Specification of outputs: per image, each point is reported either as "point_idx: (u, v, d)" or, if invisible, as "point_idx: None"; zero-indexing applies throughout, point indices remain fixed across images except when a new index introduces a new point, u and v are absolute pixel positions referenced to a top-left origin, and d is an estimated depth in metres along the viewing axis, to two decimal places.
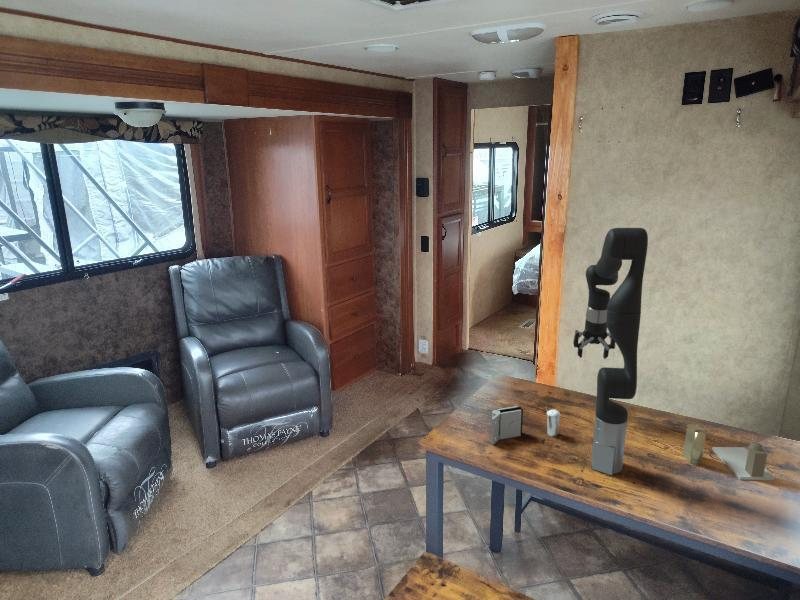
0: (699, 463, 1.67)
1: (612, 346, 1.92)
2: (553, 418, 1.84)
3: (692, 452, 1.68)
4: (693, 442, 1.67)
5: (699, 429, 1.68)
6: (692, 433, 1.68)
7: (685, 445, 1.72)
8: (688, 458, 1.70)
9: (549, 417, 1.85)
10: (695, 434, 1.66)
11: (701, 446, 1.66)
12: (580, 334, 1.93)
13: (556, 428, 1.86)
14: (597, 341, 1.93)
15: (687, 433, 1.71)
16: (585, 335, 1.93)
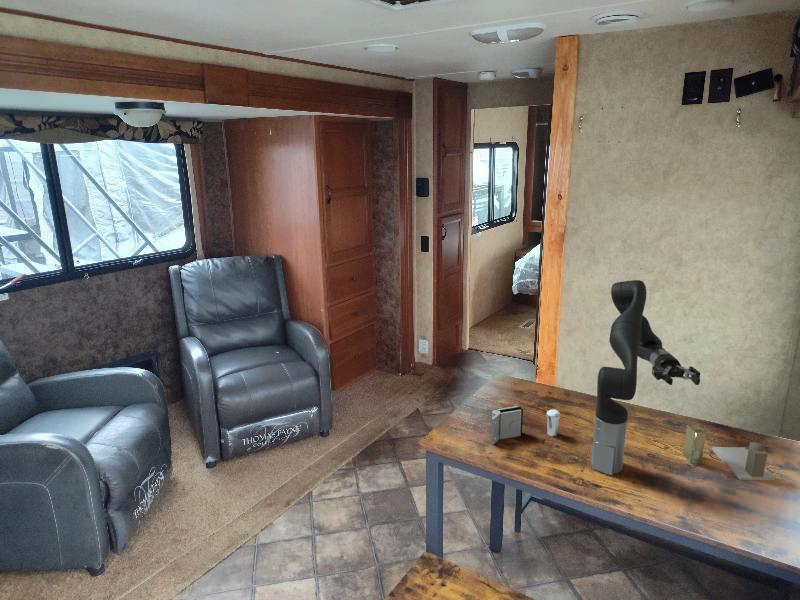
0: (699, 463, 1.67)
1: (696, 372, 1.81)
2: (553, 418, 1.84)
3: (692, 452, 1.68)
4: (693, 442, 1.67)
5: (699, 429, 1.68)
6: (692, 433, 1.68)
7: (685, 445, 1.72)
8: (688, 458, 1.70)
9: (549, 417, 1.85)
10: (695, 434, 1.66)
11: (701, 446, 1.66)
12: (657, 369, 1.86)
13: (556, 428, 1.86)
14: (678, 370, 1.83)
15: (687, 433, 1.71)
16: (662, 367, 1.85)
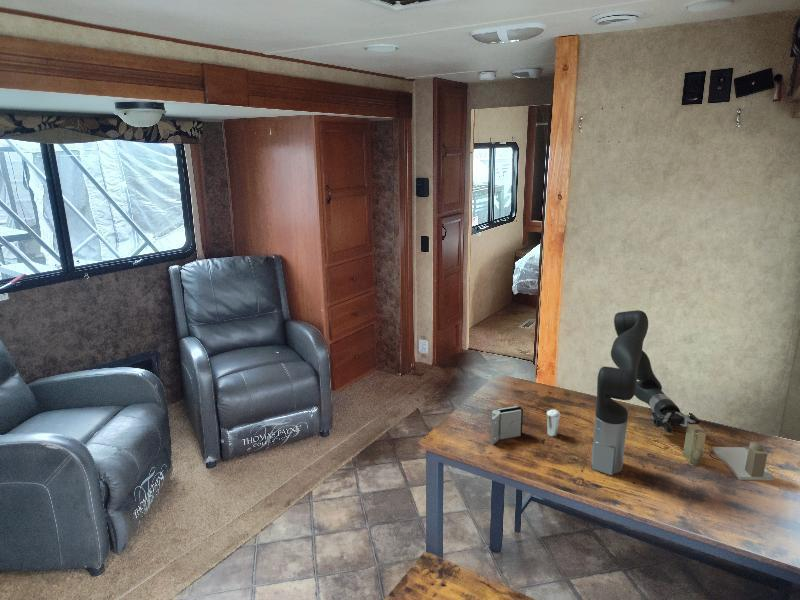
0: (699, 463, 1.67)
1: (696, 419, 1.81)
2: (553, 418, 1.84)
3: (692, 452, 1.68)
4: (693, 442, 1.67)
5: (699, 429, 1.68)
6: (692, 433, 1.68)
7: (685, 445, 1.72)
8: (688, 458, 1.70)
9: (549, 417, 1.85)
10: (695, 434, 1.66)
11: (701, 446, 1.66)
12: None
13: (556, 428, 1.86)
14: (677, 417, 1.83)
15: (687, 433, 1.71)
16: (662, 414, 1.86)
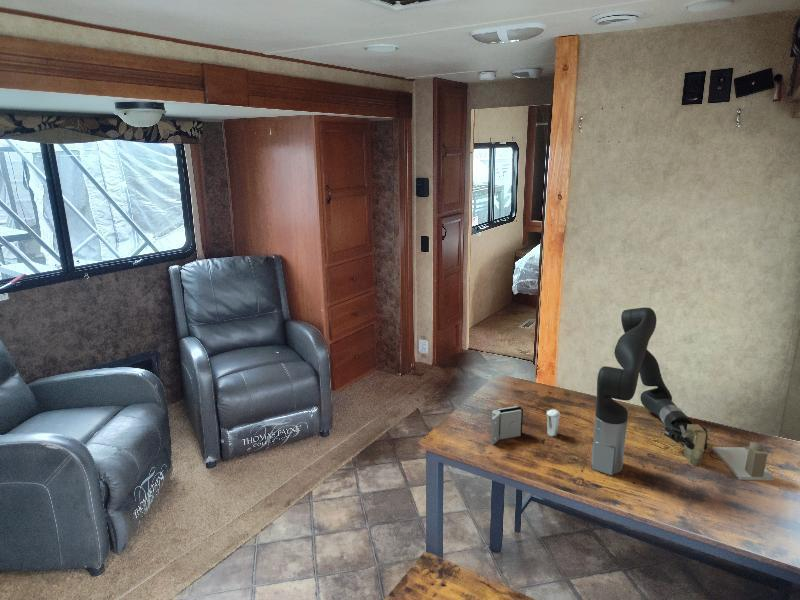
0: (699, 463, 1.67)
1: None
2: (553, 418, 1.84)
3: (692, 452, 1.68)
4: (693, 442, 1.67)
5: (699, 429, 1.68)
6: (692, 433, 1.68)
7: (685, 445, 1.72)
8: (688, 458, 1.70)
9: (549, 417, 1.85)
10: (695, 434, 1.66)
11: (701, 446, 1.66)
12: None
13: (556, 428, 1.86)
14: None
15: (687, 433, 1.71)
16: (673, 426, 1.77)
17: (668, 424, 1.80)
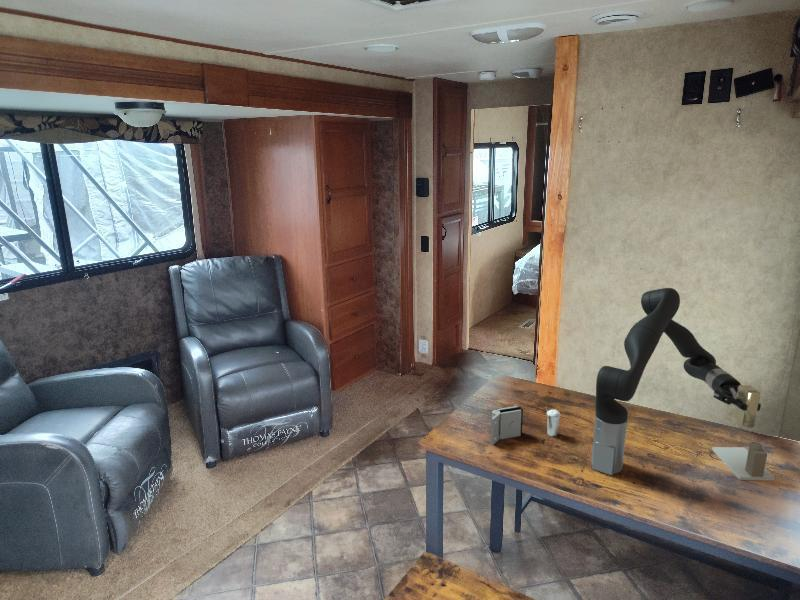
0: (752, 424, 1.63)
1: None
2: (553, 418, 1.84)
3: (745, 413, 1.63)
4: (746, 403, 1.62)
5: (752, 389, 1.63)
6: (745, 393, 1.63)
7: (736, 407, 1.68)
8: (740, 420, 1.66)
9: (549, 417, 1.85)
10: (748, 394, 1.61)
11: (755, 406, 1.61)
12: None
13: (556, 428, 1.86)
14: None
15: (738, 395, 1.66)
16: (722, 389, 1.72)
17: (716, 387, 1.76)
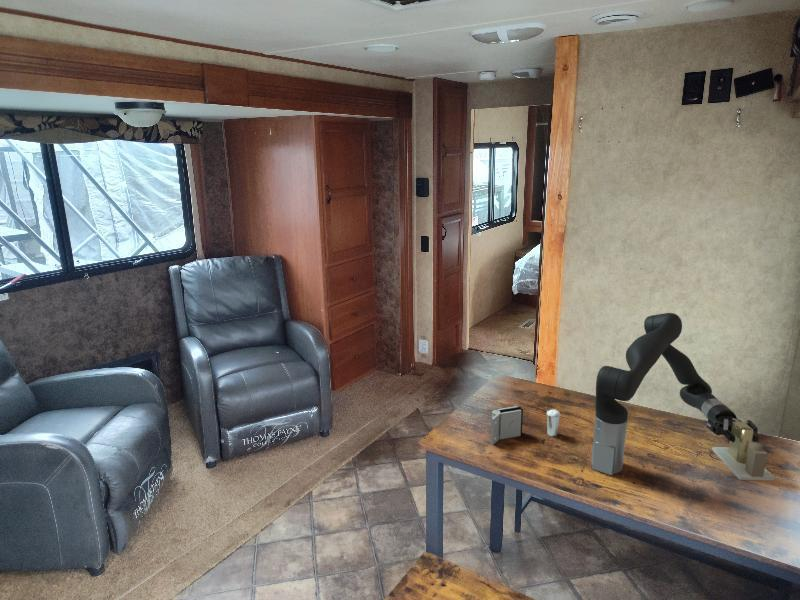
0: None
1: (754, 427, 1.71)
2: (553, 418, 1.84)
3: (738, 449, 1.67)
4: (740, 440, 1.66)
5: (746, 426, 1.67)
6: (739, 430, 1.66)
7: (730, 442, 1.71)
8: (734, 456, 1.69)
9: (549, 417, 1.85)
10: (742, 431, 1.65)
11: (748, 444, 1.65)
12: None
13: (556, 428, 1.86)
14: None
15: (732, 431, 1.70)
16: (718, 420, 1.75)
17: (712, 418, 1.79)
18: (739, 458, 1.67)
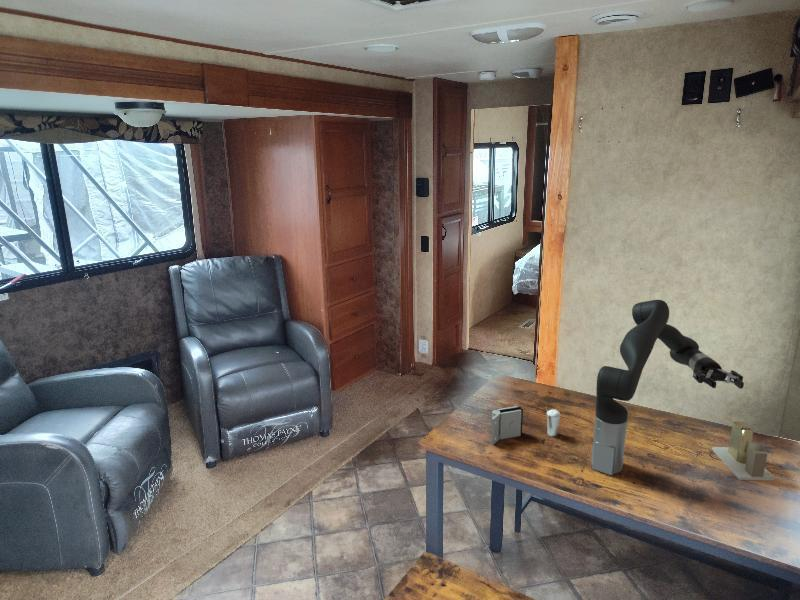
0: None
1: (739, 376, 1.80)
2: (553, 418, 1.84)
3: (738, 449, 1.67)
4: (740, 440, 1.66)
5: (746, 426, 1.67)
6: (739, 430, 1.66)
7: (730, 443, 1.71)
8: (734, 456, 1.69)
9: (549, 417, 1.85)
10: (742, 431, 1.65)
11: (748, 444, 1.65)
12: None
13: (556, 428, 1.86)
14: (720, 373, 1.82)
15: (732, 431, 1.70)
16: (704, 371, 1.84)
17: (698, 369, 1.88)
18: (739, 458, 1.67)
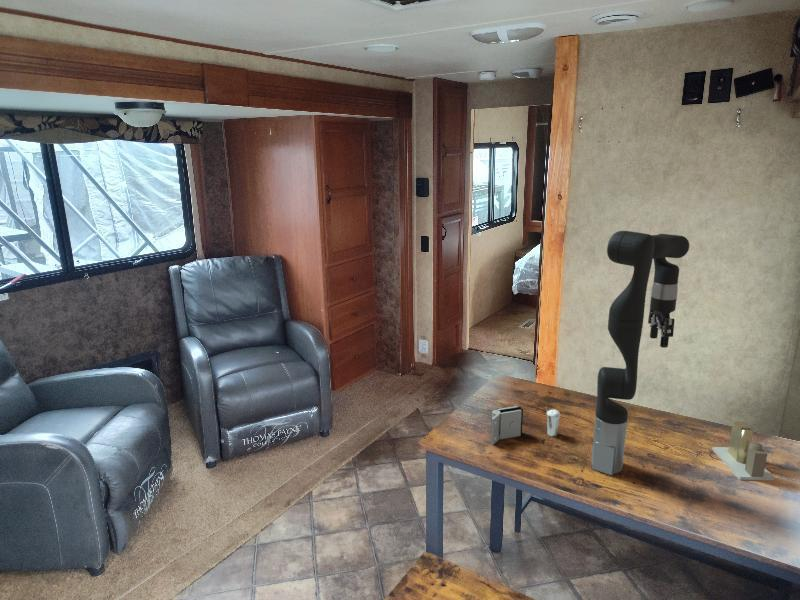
0: None
1: None
2: (553, 418, 1.84)
3: (738, 449, 1.67)
4: (740, 440, 1.66)
5: (746, 426, 1.67)
6: (739, 430, 1.66)
7: (730, 443, 1.71)
8: (734, 456, 1.69)
9: (549, 417, 1.85)
10: (742, 431, 1.65)
11: (748, 444, 1.65)
12: None
13: (556, 428, 1.86)
14: None
15: (732, 431, 1.70)
16: None
17: (668, 309, 1.70)
18: (739, 458, 1.67)
